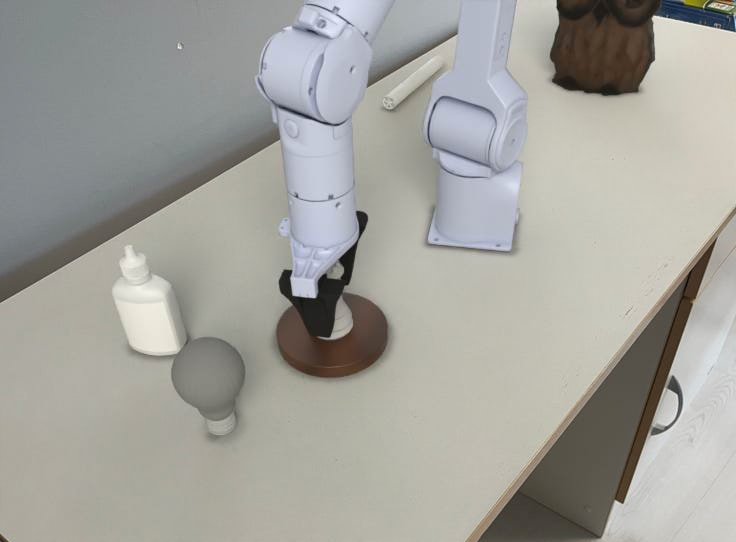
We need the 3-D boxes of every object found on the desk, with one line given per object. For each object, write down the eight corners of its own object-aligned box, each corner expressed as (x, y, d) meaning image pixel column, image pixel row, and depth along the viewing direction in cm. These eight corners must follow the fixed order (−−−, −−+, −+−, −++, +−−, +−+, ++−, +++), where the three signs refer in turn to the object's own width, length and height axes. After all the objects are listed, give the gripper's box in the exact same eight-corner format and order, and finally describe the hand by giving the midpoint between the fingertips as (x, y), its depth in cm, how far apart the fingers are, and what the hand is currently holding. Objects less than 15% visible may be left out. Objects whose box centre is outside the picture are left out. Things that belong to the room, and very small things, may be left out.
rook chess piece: (348, 345, 69) (344, 279, 63) (303, 340, 69) (295, 275, 64) (357, 314, 72) (354, 249, 66) (314, 310, 72) (307, 245, 67)
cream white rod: (436, 63, 117) (437, 48, 115) (448, 65, 116) (449, 50, 115) (382, 108, 106) (382, 92, 105) (394, 111, 106) (394, 95, 104)
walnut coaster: (396, 308, 74) (396, 297, 73) (376, 385, 67) (375, 374, 66) (294, 297, 76) (293, 286, 75) (264, 370, 69) (261, 359, 68)
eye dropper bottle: (160, 369, 69) (128, 271, 61) (124, 345, 72) (89, 248, 64) (194, 344, 72) (168, 246, 63) (158, 321, 74) (128, 225, 66)
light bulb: (191, 405, 66) (167, 324, 59) (256, 399, 66) (240, 318, 59) (186, 456, 62) (160, 377, 55) (255, 450, 62) (238, 370, 55)
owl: (649, 94, 106) (688, -56, 92) (570, 106, 104) (598, -45, 90) (608, 61, 115) (639, -81, 101) (535, 71, 113) (555, -72, 99)
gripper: (297, 137, 65) (309, 257, 74) (246, 228, 55) (268, 354, 64) (373, 142, 63) (376, 264, 73) (335, 237, 54) (344, 364, 63)
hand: (330, 307), depth 69 cm, fingers open, 7 cm apart
